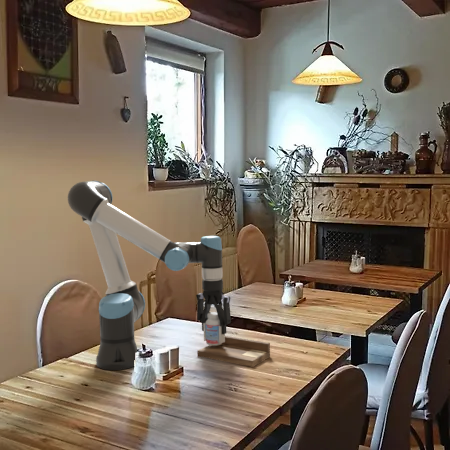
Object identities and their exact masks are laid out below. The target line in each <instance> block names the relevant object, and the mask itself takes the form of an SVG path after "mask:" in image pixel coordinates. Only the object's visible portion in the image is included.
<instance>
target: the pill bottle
mask: <svg viewBox="0 0 450 450" xmlns="http://www.w3.org/2000/svg"><path fill="white" fill-rule="evenodd" d="M207 317H208V320H207V321H206V341H205V342H206V345H207V346H209V345H212V346H216V345H220V343H219V325H221V324H220V321H219V317H218V314H217V311H211V312H209V313H208V314H207ZM221 344H222V343H221Z"/></svg>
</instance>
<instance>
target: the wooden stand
mask: <svg viewBox="0 0 450 450" xmlns="http://www.w3.org/2000/svg"><path fill="white" fill-rule="evenodd" d="M196 352H197V357H200V358H204V359H205V358H206V359H210V360H211V359H212V360H216V361H219V362H220V361H221V362H224V363H225V362H226V363H231V364H236V365H240V366H241V365H242V366H247V367H255V366H257V365H259V364H260V363H262V362H264V361H265V359H266V360H267V359H269V358H270V357H271V343H270V342H266V341H265V342H264V341H258V340H254V339H253V340H252V339H248V338H247V339H246V338H241V337H234V336H231V335H230V336H229V335H225V342H223V343H222V344H220V345H216V346H212V345H207V346H204V347H203V348H200V349H198V350H197V351H196Z"/></svg>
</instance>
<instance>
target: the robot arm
mask: <svg viewBox="0 0 450 450" xmlns="http://www.w3.org/2000/svg"><path fill="white" fill-rule="evenodd" d="M112 202H113V192H112V190H111V188H110V187H109V186H108V185H107V184H106V183H104V182H103V181H102V182H101V181H98V180H87V181H79V182H76V183H75V184H73V186H71V187H70V189H69V191H68V193H67V203H68V206H69V208H70V209H71V210H72V211H73V212H74V213H75V214H77V215H79V217H81V219H82V223H85V224H87V225H88V228H89V230H90V234H91V236H92V240H93V243H94V246H95V249H96V253H97V256H98V260H99V262H100V263H99V264H100V266H101V269H102V271H103V275H104V278H105V283H106V284H107V285H106V286H107V289H106V291H105V296H103V297H102V298H101V299H100V300H99V303H98V313H99V314H98V315H99V317H98V318H99V319H98V320H99V335H100V336H99V337H100V343H99V347H98V351H97V356H96V358H95V361H96V362H95V363H96V366H97V367H96V368H99V369H102V370H105V371H106V370H107V371H119V370H126V369H130V368H133V366H134V360H135V352H136V351H137V350H139V349H138V346H137V343H136V340H135V323H136V322H137V320H139V319H140V318H141V317H142V316H143V313H145V312H144V311H145V309H146V300H145V297H144V295H143V294H142V293H141V291H140V290H139V289H138V285H137V283H136V282H135V281H133V280H131V277H130V274H129V271H128V267H127V263H126V260H125V257H124V255H123V251H122V248H121V247H122V246H121V245H120V242H119V237H118V236H120V237H121V238H123V239H124V240H126V241H128V242H129V243H131V244H133V245H134V246H136V247H138V248H139V249H141V250H143V251H145V252H146V253H148V254H149V255H152V256H153V257H154V258H156V259H158V260H159V261H161V262H163V263H164V264H165V265H166V267H167V268H168V269H169V270H171V271H174V272H178V271H181V270H183V269H185V268H186V267H188V265H189V264H201V278H202V280H201V281H202V282H201V284H202V292H200V293H197V294H196V295H195V296H196V301H197V305H196V306H197V307H196V320H197V321H199V322H201V331H202V332H203V341H204V342H206V321H207V320H208V317H207V314H208V313H210V311H211V307H212V305H213V306H214V309H215V310H216V311H215V312H217V314H218V317H219V321H220V324H221V325H219V343H220V344H221V343H223V342H225V336H226V334H227V325H229V324H231V323H232V319H231V308H230V307H231V305H230V303H231V296H229V295H228V296H226V295H224V292H223V290H224V280H223V277H224V273H223V246H222V238H221V237H220V236H218V235H206V236H202V237H200V241H198V242H197V241H196V242H195V241H191V242H185V241H184V242H180V241H178V242H177V241H176V242H174V241H172V240H170V239H169V238H167V237H165V236H164V235H162V234H160V233H159V232H157V231H155V230H154V229H152V228H150V227H149V226H147V225H145V224H144V223H142V222H141V221H139V220H137V218H134V217H132V216H131V215H129V214H127V213H126V212H124V211H122V209H119V208H118V207H116V206H115V205H113V203H112ZM134 367H135V366H134Z"/></svg>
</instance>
